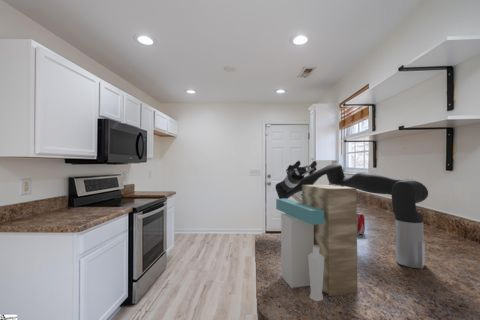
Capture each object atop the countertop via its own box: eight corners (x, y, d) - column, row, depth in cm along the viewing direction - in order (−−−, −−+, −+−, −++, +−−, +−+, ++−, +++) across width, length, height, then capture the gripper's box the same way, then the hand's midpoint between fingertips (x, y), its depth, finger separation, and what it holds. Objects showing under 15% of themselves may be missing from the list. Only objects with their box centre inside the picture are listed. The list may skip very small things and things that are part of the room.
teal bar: (276, 208, 92) (276, 198, 92) (285, 208, 93) (285, 198, 93) (311, 224, 67) (311, 210, 67) (324, 224, 68) (324, 210, 68)
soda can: (366, 235, 132) (366, 214, 132) (353, 234, 133) (352, 213, 133) (362, 232, 139) (362, 212, 139) (349, 231, 140) (349, 211, 140)
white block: (281, 276, 82) (281, 213, 83) (301, 274, 84) (301, 212, 85) (291, 287, 74) (291, 218, 75) (313, 284, 76) (313, 217, 77)
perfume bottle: (305, 293, 71) (305, 244, 71) (319, 293, 71) (319, 243, 72) (311, 302, 66) (311, 249, 67) (326, 301, 67) (325, 248, 67)
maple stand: (302, 272, 85) (302, 184, 86) (326, 269, 88) (325, 184, 89) (329, 296, 70) (328, 188, 71) (357, 291, 72) (356, 188, 73)
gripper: (307, 184, 124) (323, 169, 110) (283, 184, 120) (295, 169, 107) (304, 171, 128) (318, 155, 114) (280, 171, 124) (292, 155, 111)
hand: (307, 162), depth 111 cm, fingers open, 8 cm apart
